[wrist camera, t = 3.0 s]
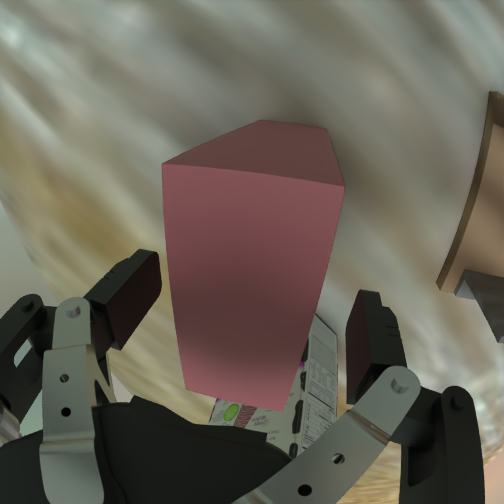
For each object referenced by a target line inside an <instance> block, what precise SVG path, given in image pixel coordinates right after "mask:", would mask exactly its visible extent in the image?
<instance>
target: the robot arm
mask: <svg viewBox="0 0 504 504" xmlns="http://www.w3.org/2000/svg"><path fill="white" fill-rule="evenodd" d="M161 288H162V280H161V272H160V263H159V255H158V253H157V252H154V251H149V250H144V249H138V250H137V251H136V252H135V253H134V254H133V255H132V256H131V257H130V258H126V259H124V260H123V261H121V262H119V263H117V264H116V265H115V266H114V267H113V268H112V269H111V270H110V271H109V272H108V273H107V274H106V275H105V276H104V278H102V279H101V280H100V281H99V282H98V283H97V284H96V285H95V286H94V287H93V288H92V289H91V290H90V291H89V292H88V293H87V294H86V295H85V296H84V297H83V298H82V297H72V298H69V299H66V300H65V301H63V302H62V303H60V305H59V306H58V307H51V306H44V304H43V301H42V299H41V297H40V296H39V295H37V294H29V295H25V296H23V297H22V298H20V299H19V300H18V301H17V302H16V303H15V304H14V305H13V306H12V307H11V308H10V309H9V310H8V311H7V312H6V313H5V314H4V316H3V317H2V318H1V319H0V504H336V503H337V502H338V501H339V500H340V499H341V498H342V497H343V496H344V495H345V494H346V493H347V491H348V490H349V489H350V488H351V487H352V486H353V485H354V484H355V483H356V482H357V481H358V480H359V478H360V477H361V476H362V475H363V474H364V473H365V472H366V470H367V469H368V468H369V467H370V466H371V465H372V463H373V462H374V461H375V460H376V458H377V457H378V456H379V455H380V453H381V452H382V451H383V450H384V448H385V447H386V446H387V444H388V443H389V441H392V442H395V443H398V444H401V478H400V493H399V504H485V487H484V469H483V458H482V449H481V442H480V435H479V428H478V422H477V417H476V411H475V406H474V402H473V399H472V397H471V395H470V394H469V393H468V392H467V391H466V390H465V389H463V388H462V387H459V386H450V387H448V388H446V389H445V390H444V391H443V393H442V394H441V393H438V392H435V391H432V390H429V389H427V388H424V387H422V386H421V385H420V381H419V379H418V377H417V376H416V374H415V373H414V372H412V371H411V370H410V369H408V368H407V363H406V358H405V353H404V349H403V344H402V339H401V338H400V336H401V335H400V331H399V329H398V328H399V327H398V322H397V318H396V316H395V315H394V313H393V312H392V311H391V309H390V308H389V307H384V306H382V302H381V298H380V294H379V292H374V291H367V290H361V289H360V290H359V291H358V294H357V296H356V299H355V302H354V305H353V308H352V310H351V313H350V316H349V318H348V321H347V326H346V334H345V336H346V372H347V402H346V404H352V405H354V406H353V407H352V408H351V409H350V410H347V411H346V412H345V413H344V414H343V415H342V416H341V417H340V418H339V419H338V420H337V421H336V422H335V423H334V424H333V425H332V426H330V427H329V428H328V429H327V430H326V431H325V432H324V433H323V434H322V435H321V436H320V437H319V438H318V439H317V440H316V441H314V442H313V443H312V444H311V445H310V446H309V447H308V448H307V449H305V450H304V451H303V452H302V453H301V454H300V455H298V456H297V457H296V458H295V459H293V458H292V457H290V456H289V455H288V454H287V453H286V452H284V451H283V450H282V449H280V448H279V447H277V446H275V445H273V444H271V443H269V442H267V441H266V439H267V434H268V433H265V432H260V431H255V430H250V429H245V428H240V427H236V426H223V425H200V424H194V423H191V422H189V421H188V420H186V419H184V418H182V417H181V416H179V415H177V414H176V413H174V412H173V411H171V410H169V409H168V408H166V407H165V406H163V405H160V404H157V403H154V402H151V401H149V400H146V399H143V398H141V397H138V396H136V395H134V396H133V398H132V399H131V401H130V403H127V402H117V401H116V398H115V395H114V390H113V385H112V378H111V371H110V364H109V357H108V353H107V351H108V349H109V348H110V347H112V348H115V349H117V350H120V351H121V349H122V348H123V346H124V345H125V344H126V342H127V341H128V339H129V338H130V336H131V335H132V333H133V332H134V331H135V329H136V328H137V326H138V325H139V323H140V322H141V321H142V319H143V318H144V316H145V315H146V314H147V312H148V311H149V309H150V308H151V307H152V305H153V304H154V302H155V301H156V300H157V298H158V297H159V295H160V292H161ZM27 339H28V341H29V342H30V344H31V346H32V348H31V349H30V350H29V352H28V353H27V354H26V355H25V357H24V358H23V360H22V361H21V362H20V364H19V365H18V366H17V368H16V366H15V364H14V356H15V354H16V352H17V351H18V350H19V348H20V347H21V346H22V345H23V343H24V342H25V341H26V340H27ZM41 389H42V417H43V429H42V430H39V431H37V432H34V433H31V434H29V435H26V436H23V437H22V434H21V433H20V432H19V431H20V424H21V422H22V420H23V419H24V417H25V415H26V414H27V412H28V410H29V409H30V407H31V405H32V404H33V402H34V400H35V399H36V397H37V396H38V394H39V393H40V391H41Z"/></svg>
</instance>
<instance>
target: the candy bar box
mask: <svg viewBox="0 0 504 504" xmlns="http://www.w3.org/2000/svg"><path fill="white" fill-rule="evenodd" d="M337 382H338V355H337V335H336V334H335V333H334V331H333V330H332V329H331V328H329V327H328V326H327V325H326V324H324V323H323V322H322V321H321V320H320V318H319V317H318V316H317V315H316V314H315V315H314V318H313V322H312V325H311V329H310V332H309V335H308V339H307V342H306V345H305V348H304V351H303V355H302V358H301V361H300V364H299V367H298V370H297V373H296V376H295V379H294V382H293V385H292V388H291V391H290V394H289V396H288V399H287V402H286V405H285V408H284V410H283V412H280V411H274V410H269V409H263V408H258V407H253V406H249V405H244V404H239V403H235V402H231V401H227V400H223V399H219V398H217V399H216V402H215V405H214V408H213V411H212V415H211V417H210V420H209V422H208V425H223V426H236V427H240V428H245V429H250V430H255V431H260V432H265V433H268V434H267V439H266V441H267V442H269V443H271V444H273V445H275V446H277V447H279V448H280V449H282V450H283V451H284V452H286V453H287V454H288V455H289V456H290V457H292V458H293V459H295V458H296V457H297V456H298V455H300V454H301V453H302V452H303V451H304V450H305V449H307V448H308V447H309V446H310V445H311V444H312V443H313V442H314V441H316V440H317V439H318V438H319V437H320V436H321V435H322V434H323V433H324V432H325V431H326V430H327V429H328V428H329V427H330V426H332V425H333V424H334V423H335V422H336V421H337V398H338V388H337Z"/></svg>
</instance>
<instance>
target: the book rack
mask: <svg viewBox="0 0 504 504" xmlns="http://www.w3.org/2000/svg"><path fill="white" fill-rule="evenodd" d="M436 283H437V286H438V288H439V290H440V291H444V292H450V293H454V294H455V296H457V297H463V298H469V299H475V300H476V301H477V302H478V304H479V306H480V308H481V310H482V312H483V314H484V316H485V318H486V320H487V321H488V323H489V326H490V328H491V330H492V332H493V334H494V336H495V338H496V340H497V342H498V343H504V95H502V94H500V93H498V92H491V91H489V101H488V109H487V116H486V123H485V129H484V134H483V140H482V145H481V150H480V154H479V159H478V163H477V167H476V172H475V175H474V179H473V183H472V187H471V190H470V194H469V197H468V200H467V204H466V207H465V210H464V213H463V216H462V219H461V222H460V225H459V228H458V231H457V233H456V236H455V239H454V241H453V244H452V247H451V249H450V252H449V254H448V257H447V259H446V262H445V264H444V266H443V269H442V271H441V273H440V275H439V278H438V280H437V282H436Z"/></svg>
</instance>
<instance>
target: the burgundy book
mask: <svg viewBox="0 0 504 504" xmlns="http://www.w3.org/2000/svg"><path fill="white" fill-rule="evenodd" d="M162 188H163V208H164V224H165V238H166V250H167V261H168V271H169V281H170V289H171V298H172V306H173V313H174V321H175V328H176V334H177V341H178V347H179V353H180V359H181V365H182V371H183V376H184V382H185V387H186V390H189V391H193V392H196V393H200V394H204V395H207V396H211V397H215V398H219V399H223V400H227V401H231V402H235V403H239V404H244V405H249V406H253V407H258V408H263V409H269V410H274V411H280V412H283V410H284V408H285V405H286V402H287V399H288V396H289V394H290V391H291V388H292V385H293V382H294V379H295V376H296V373H297V370H298V367H299V364H300V361H301V358H302V355H303V351H304V348H305V345H306V342H307V339H308V335H309V332H310V329H311V325H312V322H313V318H314V315H315V311H316V308H317V304H318V301H319V297H320V293H321V290H322V286H323V282H324V278H325V274H326V271H327V267H328V263H329V259H330V254H331V250H332V246H333V242H334V238H335V233H336V229H337V224H338V220H339V215H340V210H341V206H342V201H343V196H344V191H345V185H344V182H343V178H342V175H341V172H340V168H339V165H338V162H337V159H336V156H335V153H334V150H333V147H332V144H331V141H330V138H329V135H328V132H327V130H326V129H325V128H319V127H313V126H307V125H300V124H293V123H285V122H277V121H268V120H260V121H257V122H254V123H252V124H249V125H247V126H244V127H242V128H239V129H237V130H234V131H232V132H229V133H227V134H225V135H222V136H220V137H218V138H215V139H213V140H211V141H208V142H206V143H204V144H202V145H200V146H197V147H195V148H193V149H191V150H189V151H187V152H184V153H182V154H180V155H178V156H176V157H174V158H172V159H170V160H168V161H166V162H164V163H162Z"/></svg>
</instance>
